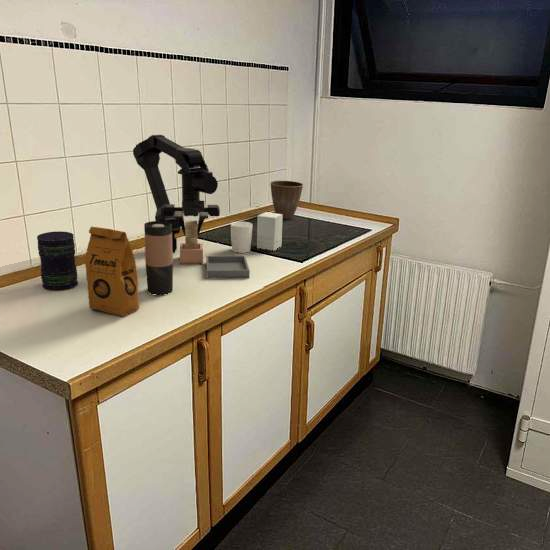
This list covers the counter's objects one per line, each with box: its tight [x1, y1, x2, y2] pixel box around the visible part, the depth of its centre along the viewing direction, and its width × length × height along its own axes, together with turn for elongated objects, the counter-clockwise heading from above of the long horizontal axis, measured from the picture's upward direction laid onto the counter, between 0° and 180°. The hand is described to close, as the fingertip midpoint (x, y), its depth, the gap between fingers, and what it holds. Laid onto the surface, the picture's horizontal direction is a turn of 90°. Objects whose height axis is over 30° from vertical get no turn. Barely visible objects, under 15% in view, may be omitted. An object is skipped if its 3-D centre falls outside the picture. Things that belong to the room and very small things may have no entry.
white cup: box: [230, 221, 253, 254], centre depth 195 cm, size 8×8×10 cm
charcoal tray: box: [205, 255, 251, 279], centre depth 175 cm, size 13×15×2 cm
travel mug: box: [143, 220, 174, 296], centre depth 152 cm, size 8×8×20 cm
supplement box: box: [256, 211, 283, 252], centre depth 200 cm, size 7×7×13 cm
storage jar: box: [36, 230, 79, 292], centre depth 154 cm, size 10×10×15 cm
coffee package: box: [84, 226, 140, 318], centre depth 138 cm, size 10×12×22 cm
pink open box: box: [179, 242, 204, 265], centre depth 182 cm, size 8×8×5 cm
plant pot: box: [269, 180, 304, 220], centre depth 246 cm, size 15×15×16 cm
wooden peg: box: [184, 220, 199, 249], centre depth 180 cm, size 4×4×10 cm
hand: (191, 235), depth 180 cm, fingers closed on wooden peg, 4 cm apart
